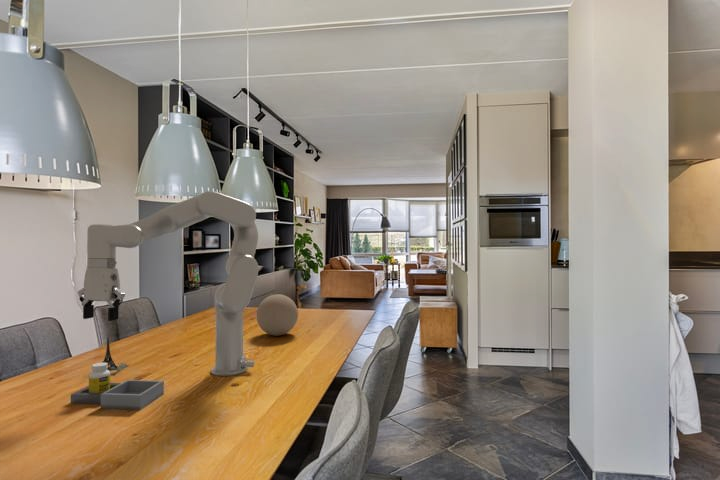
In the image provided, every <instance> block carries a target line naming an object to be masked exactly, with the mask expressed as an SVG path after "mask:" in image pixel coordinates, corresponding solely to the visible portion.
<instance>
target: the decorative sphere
mask: <svg viewBox="0 0 720 480" xmlns="http://www.w3.org/2000/svg"><path fill="white" fill-rule="evenodd" d="M297 307H298V306H297V305H296V303H295V302H294V300H293V299H292V298H290V297H289V296H286V295H285V294H280V293H279V294H272V295H268V296H267V297H265V298H264V299H263V300H261V302H260V303H259V305H258V308H257V311H256V322H257V325H258V326H259V328H260V329H261V330H262V332H264V333H266V334H268V335H269V336H270V335H271V336H282V335H286V334H288V333H289V332H291V330H292V329H294V327H295V325H297V322H298V317H299V312H298V311H299V310H298V308H297Z"/></svg>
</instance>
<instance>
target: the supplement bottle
mask: <svg viewBox="0 0 720 480" xmlns="http://www.w3.org/2000/svg"><path fill="white" fill-rule="evenodd" d="M107 367H109V366H108V363H102V362H97V363H93V364H92V365H91V372H90V373H89V374H88V386H89V393H104V392H106V391H108V390H109V389H110V383H111V375H110V374H111V371H109V370H107Z"/></svg>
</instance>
